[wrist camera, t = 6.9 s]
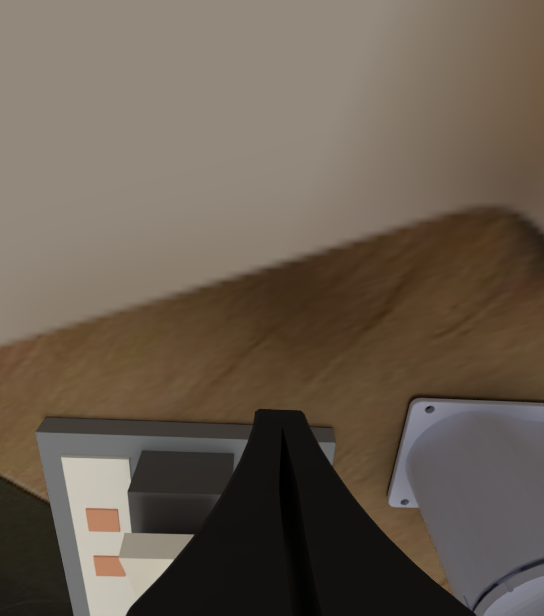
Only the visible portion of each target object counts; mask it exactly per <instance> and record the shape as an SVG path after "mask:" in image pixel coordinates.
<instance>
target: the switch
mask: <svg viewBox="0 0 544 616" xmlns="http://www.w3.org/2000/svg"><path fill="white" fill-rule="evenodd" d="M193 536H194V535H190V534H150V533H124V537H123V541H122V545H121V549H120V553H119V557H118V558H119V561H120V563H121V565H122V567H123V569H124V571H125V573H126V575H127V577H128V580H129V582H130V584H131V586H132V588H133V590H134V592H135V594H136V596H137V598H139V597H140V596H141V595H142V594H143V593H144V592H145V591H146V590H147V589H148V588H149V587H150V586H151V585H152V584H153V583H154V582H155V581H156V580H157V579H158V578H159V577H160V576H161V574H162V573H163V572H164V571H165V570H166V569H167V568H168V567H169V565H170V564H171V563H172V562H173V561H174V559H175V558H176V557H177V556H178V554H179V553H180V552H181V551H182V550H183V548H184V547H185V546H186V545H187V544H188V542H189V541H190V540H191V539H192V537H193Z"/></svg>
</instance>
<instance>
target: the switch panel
mask: <svg viewBox="0 0 544 616" xmlns="http://www.w3.org/2000/svg"><path fill="white" fill-rule="evenodd" d="M252 427H253V425H239V424H212V423H185V422H158V421H131V420H104V419H77V418H50V417H46V418H45V419H44V421H43V422H42V423H41V425H40V426H39V428H38V429H37V431H36V432H35V433H36V438H37V442H38V447H39V452H40V457H41V461H42V466H43V471H44V476H45V480H46V485H47V490H48V495H49V499H50V504H51V509H52V514H53V518H54V523H55V528H56V533H57V537H58V542H59V547H60V551H61V556H62V561H63V566H64V570H65V575H66V580H67V585H68V589H69V594H70V599H71V604H72V608H73V613H74V616H126V614H127V612H128V610H129V608H130V607H131V606H132V605H133V604H134V603H135V602H136V601H137V600H138V598H137V596H136V594H135V592H134V590H133V588H132V586H131V584H130V582H129V580H128V577H127V575H126V573H125V571H124V569H123V567H122V565H121V563H120V561H119V558H118V557H119V553H120V549H121V545H122V541H123V537H124V533H150V534H190V535H195V533H196V532H197V531H198V529H199V528H200V526H201V525H202V523H203V522H204V521H205V519H206V518H207V516H208V515H209V513H210V512H211V510H212V509H213V507H214V506H215V504H216V503H217V501H218V499H219V498H220V496H221V495H222V493H223V491H224V489H225V488H226V486H227V484H228V482H229V480H230V478H231V476H232V475H233V473H234V471H235V469H236V467H237V465H238V463H239V461H240V459H241V456H242V454H243V451H244V449H245V447H246V444H247V442H248V439H249V436H250V433H251V430H252ZM310 428H311V430H312V432H313V434H314V436H315V438H316V440H317V442H318V443H319V445H320V447H321V449H322V450H323V452H324V454H325V455H326V457H327V459H328V460H329V462H330V463H331V465H332V463H333V457H334V451H335V445H336V441H335V437H334V432H333V428H320V427H310Z"/></svg>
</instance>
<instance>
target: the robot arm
mask: <svg viewBox="0 0 544 616" xmlns="http://www.w3.org/2000/svg"><path fill="white" fill-rule="evenodd" d="M428 406H431V408H429V409H426V407H428ZM403 499H404V500H403ZM387 500H388V503H389V505H390V506H392V507H410V508H419V509H420V512H421V514H422V517H423V519H424V522H425V524H426V527H427V529H428V532H429V534H430V537H431V539H432V542H433V544H434V547H435V549H436V552H437V554H438V557H439V559H440V562H441V564H442V567H443V569H444V572H445V574H446V577H447V579H448V582H449V584H450V587H451V590H452V592H453V595H454V596H452V595H451V594H450V593H449V592H447V591H446V590H445V589H444V588H442V587H441V586H440V585H439V584H437V583H436V582H435V581H434V580H433V579H431V578H430V577H429V576H428V575H427V574H426V573H425V572H424V571H422V570H421V569H420V568H419V567H418V566H417V565H416V564H415V563H413V562H412V561H411V560H410V559H409V558H408V557H407V556H406V555H405V554H404V553H403V552H402V551H401V550H400V549H399V548H398V547H397V546H396V545H395V544H394V543H393V542H392V541H391V540H390V539H389V538H388V537H387V536H386V534H385V533H384V532H383V531H382V530H381V529H380V528H379V527H378V526H377V524H376V523H375V522H374V521H373V520H372V519H371V518H370V516H369V515H368V514H367V513H366V512H365V510H364V509H363V508H362V507H361V506H360V504H359V503H358V502H357V501H356V499H355V498H354V497H353V495H352V494H351V493H350V491H349V490H348V489H347V487H346V486H345V484H344V483H343V481H342V480H341V479H340V477H339V476H338V474H337V473H336V471H335V470H334V468H333V467H332V465H331V463H330V462H329V460H328V459H327V457H326V455H325V454H324V452H323V450H322V449H321V447H320V445H319V443H318V442H317V440H316V438H315V436H314V434H313V432H312V430H311V428H310V426H309V424H308V422H307V420H306V417H305V415H304V413H303V412H302V411H297V410H271V409H259V410H257V411H256V412H255V418H254V423H253V427H252V430H251V433H250V436H249V439H248V442H247V444H246V447H245V449H244V451H243V454H242V456H241V459H240V461H239V463H238V465H237V467H236V469H235V471H234V473H233V475H232V476H231V478H230V480H229V482H228V484H227V486H226V488H225V489H224V491H223V493H222V495H221V496H220V498H219V499H218V501H217V503H216V504H215V506H214V507H213V509H212V510H211V512H210V513H209V515H208V516H207V518H206V519H205V521H204V522H203V523H202V525H201V526H200V528H199V529H198V531H197V532H196V533H195V535H194V536H193V537H192V539H191V540H190V541H189V542H188V544H187V545H186V546H185V547H184V548H183V550H182V551H181V552H180V553H179V554H178V556H177V557H176V558H175V559H174V561H173V562H172V563H171V564H170V565H169V567H168V568H167V569H166V570H165V571H164V572H163V573H162V574H161V576H160V577H159V578H158V579H157V580H156V581H155V582H154V583H153V584H152V585H151V586H150V587H149V588H148V589H147V590H146V591H145V592H144V593H143V594H142V595H141V596H140V597H139V598H138V600H137V601H136V602H135V603H134V604H133V605H132V606H131V607H130V608H129V610H128V612H127V614H126V616H544V403H533V402H508V401H484V400H459V399H435V398H417V399H414V400H413V401H412V402H411V403H410V406H409V410H408V414H407V418H406V422H405V426H404V430H403V435H402V439H401V443H400V447H399V451H398V455H397V459H396V463H395V467H394V471H393V475H392V479H391V483H390V487H389V491H388V496H387Z"/></svg>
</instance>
